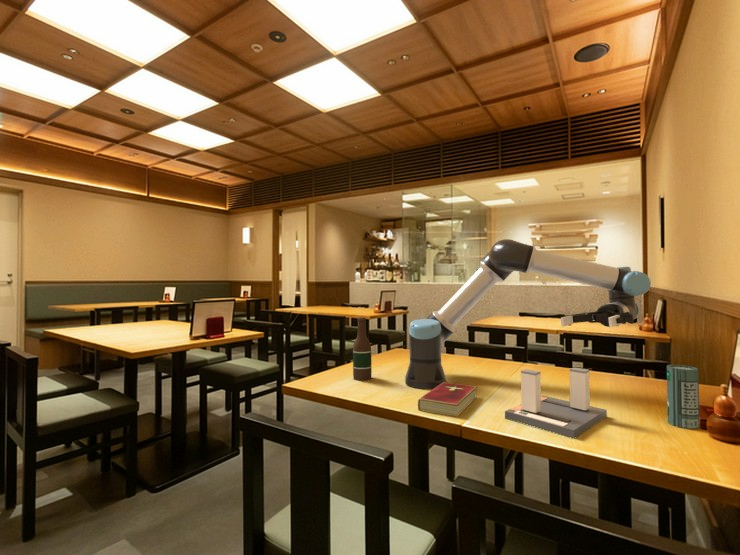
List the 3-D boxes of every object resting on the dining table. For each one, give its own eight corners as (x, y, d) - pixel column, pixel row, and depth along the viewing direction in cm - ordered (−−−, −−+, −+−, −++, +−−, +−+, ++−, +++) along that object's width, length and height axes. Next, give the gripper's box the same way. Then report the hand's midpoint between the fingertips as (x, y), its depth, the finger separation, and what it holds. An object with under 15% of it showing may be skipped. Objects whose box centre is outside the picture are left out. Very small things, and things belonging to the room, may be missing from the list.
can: (687, 420, 101) (686, 364, 102) (704, 429, 95) (703, 370, 96) (662, 420, 102) (661, 364, 102) (679, 428, 96) (678, 369, 96)
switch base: (504, 418, 104) (504, 370, 104) (542, 401, 118) (541, 359, 119) (573, 438, 90) (573, 383, 91) (606, 417, 105) (605, 369, 105)
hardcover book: (417, 411, 112) (417, 397, 112) (442, 393, 130) (442, 381, 130) (457, 418, 106) (457, 403, 106) (477, 398, 124) (477, 385, 124)
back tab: (570, 406, 106) (569, 368, 106) (574, 404, 108) (574, 367, 108) (585, 410, 103) (585, 371, 103) (589, 408, 105) (589, 369, 105)
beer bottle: (349, 377, 151) (349, 317, 152) (367, 374, 155) (366, 316, 155) (357, 381, 144) (356, 318, 145) (375, 379, 148) (374, 317, 148)
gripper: (658, 326, 117) (634, 335, 104) (575, 325, 136) (546, 333, 123) (655, 301, 117) (631, 308, 104) (572, 304, 137) (543, 310, 124)
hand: (585, 322), depth 114 cm, fingers open, 13 cm apart
